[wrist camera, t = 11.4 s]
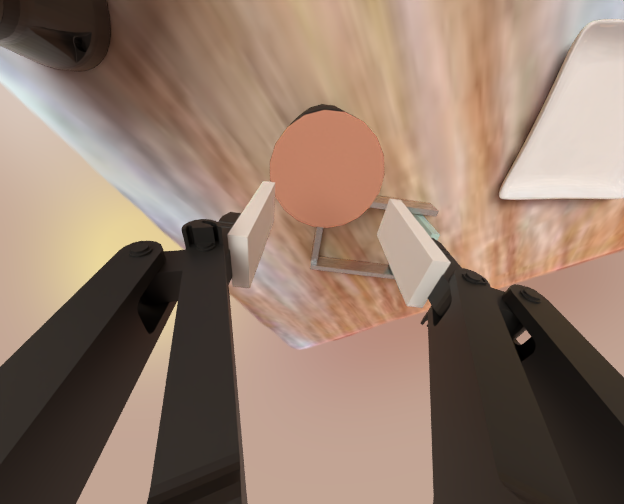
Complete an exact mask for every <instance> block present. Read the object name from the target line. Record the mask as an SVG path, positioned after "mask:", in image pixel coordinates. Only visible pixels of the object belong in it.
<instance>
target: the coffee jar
mask: <svg viewBox="0 0 624 504" xmlns="http://www.w3.org/2000/svg"><path fill="white" fill-rule="evenodd" d="M383 177H384V155H383V152H382V149H381V147H380V144H379V141H378V139H377V137H376V135H375V134H374V133H373V132H372V131H371V130H370V129H369V127H368V126H367V125H366V124H365V123H364V122H363V121H361V120H359V119H358V118H356V117H354V116H352V115H350V114H349V113H347V112H345V111H343V110H341V109H339V108H337V107H335V106H332V105H324V104H321V105H318V106H314V107H310V108H309V109H308V110H306V111H305V112H303V113H302V114H301V115H300V116H298V117H297V118H296V119H295V120H294V121H293V122H292V123H291V124H290V125H289V126H288V127H287V128H286V130H285V131H284V133H283V134H282V135H281V137H280V138H279V140H278V141H277V142H276V144H275V147H274V150H273V154H272V157H271V160H270V182H275V197H276V198H277V200H278V201H279V203H280V204H281V205H282V207H283V208H284V210H285V211H286V212H287V213H289V214H290V215H291V216H292V217H294V218H295V219H296V220H298V221H300V222H302V223H305V224H307V225H310V226H313V227H324V228H330V227H335V226H341V225H344V224H346V223H348V222H350V221H353V220H355V219H357V218H358V217H359V216H360V215H362V214H363V213H364V212H365V211H366V210H367V209H368V208H369V207H370V206H371V205H372V203H373V201H374V200H375V198H376V197H377V195H378V194H379V192H380V188H381V185H382V181H383Z"/></svg>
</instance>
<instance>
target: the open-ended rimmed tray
mask: <svg viewBox="0 0 624 504" xmlns="http://www.w3.org/2000/svg"><path fill="white" fill-rule="evenodd" d="M389 199H396V200H401V201H402V202H403V203H404V205H405V206H406V207H407V208H408V210H409V211H410V212H411V213H414V214H421V215H429V216H437V214H438V212H439V211H438V210H437V209H436V208H435V207H434V206H433V205H432V204H431V203H426V202H419V201H412V200H404V199H397V198H390V197H383V196H377V197H376V198H375V200H374V201H373V203H372V205H371V206H370V208H378V209H385V210H386V207H387V204H388V201H389ZM322 232H323V227H316V230H315V237H314V243H313V249H312V255H311V266H310V269H313V270H322V271H330V272H339V273H347V274H355V275H364V276H372V277H381V278H389V279H395V278H394V275H393V273H392V271H391V268H390V266H389V265H386V264H378V263H370V262H362V261H354V260H345V259H337V258H329V257H321V256H318V254H319V249H320V243H321V238H322Z"/></svg>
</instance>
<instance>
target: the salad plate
mask: <svg viewBox="0 0 624 504" xmlns="http://www.w3.org/2000/svg"><path fill="white" fill-rule="evenodd" d="M499 197H500V198H501V199H506V200H530V199H621V198H624V19H623V20H621V19H603V20H595V21H592V22H590V23H589V24H587V25H586V26H585V27H584V28H583V29H582V30H581V31H580V33H579V34H578V36H577V37H576V39H575V40H574V42H573V44H572V46H571V48H570V50H569V52H568V54H567V56H566V58H565V60H564V62H563V65H562V67H561V69H560V71H559V73H558V76H557V78H556V80H555V82H554V84H553V86H552V88H551V90H550V93H549V95H548V97H547V99H546V101H545V103H544V105H543V107H542V109H541V111H540V113H539V115H538V117H537V119H536V121H535V123H534V125H533V127H532V129H531V131H530V133H529V135H528V137H527V139H526V141H525V143H524V145H523V146H522V148H521V150H520V152H519V154H518V156H517V158H516V160H515V161H514V163H513V165H512V167H511V169H510V170H509V172H508V174H507V176H506V178H505V179H504V181H503V183H502V185H501V188H500V191H499Z"/></svg>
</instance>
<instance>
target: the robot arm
mask: <svg viewBox="0 0 624 504" xmlns="http://www.w3.org/2000/svg"><path fill="white" fill-rule="evenodd" d="M109 42H110V18H109V12H108V7H107V3H106V0H0V46H2V47H4V48H6V49H8V50H11V51H13V52H15V53H17V54H19V55H22V56H24V57H26V58H28V59H30V60H33V61H35V62H37V63H40V64H42V65H45V66H48V67H52V68H56V69H62V70H71V71H85V70H89V69H91V68H94V67H95V66H97V65H98V64H99V63H100V62H101V61H102V60H103V58H104V57H105V55H106V52H107V50H108V47H109ZM274 206H275V182H268V181H263V182H262V183H261V185H260V186H259V188H258V189H257V191H256V192H255V194H254V195H253V197H252V198H251V200H250V201H249V203H248V204H247V206H246V207H245V209H244V210H243V212H242V213H234V212H230V213H228V214H226V215H224V216H222V218H221V219H220V220H219V222H216V221H213V220H208V219H200V220H194V221H191V222H188V223H186V224H185V225H184V226H183V227H182V233H183V237H184V242H185V246H186V250H179V251H163V248H162V246H161V244H159V243H157V242H154V241H139V242H135V243H132V244H130V245H127V246H125V247H123V248H122V249H121V250H119V251H118V252H117V253H116V254H115V255H114V256H113V257H112V258H111V259H110V260H109V261H108V262H107V263H106V264H105V265H104V266H103V267H102V268H101V269H100V270H99V271H98V272H97V273H96V274H95V275H94V276H93V277H92V278H91V279H90V280H89V281H88V282H87V283H86V284H85V285H84V286H82V288H80V289H79V290H78V291H77V292H76V294H74V295H73V296H72V297H71V298H70V299H69V300H68V301H67V302H66V303H65V304H64V305H63V306H62V307H61V308H60V309H59V310H58V311H57V312H56V313H55V314H54V315H53V316H52V317H51V318H50V319H49V320H48V321H47V322H46V323H45V324H44V325H43V326H42V327H41V328H40V329H39V330H38V331H37V332H36V333H34V334H33V335H32V336H31V337H30V338H29V339H28V340H27V341H26V342H25V343H24V344H23V345H22V346H21V347H20V348H19V349H18V350H17V351H16V352H15V353H14V354H13V355H12V356H11V357H10V358H9V359H8V360H7V361H6V362H5V363H4V364H3V365H2V366H1V367H0V504H76V502H77V500H78V498H79V496H80V494H81V492H82V490H83V488H84V486H85V484H86V482H87V480H88V478H89V476H90V474H91V472H92V470H93V468H94V466H95V464H96V462H97V460H98V458H99V456H100V454H101V452H102V450H103V448H104V446H105V444H106V442H107V440H108V438H109V436H110V434H111V432H112V430H113V428H114V426H115V424H116V422H117V420H118V418H119V416H120V414H121V412H122V410H123V408H124V406H125V404H126V402H127V400H128V398H129V396H130V394H131V392H132V390H133V388H134V386H135V384H136V382H137V380H138V378H139V376H140V374H141V372H142V370H143V368H144V366H145V364H146V362H147V360H148V358H149V356H150V354H151V352H152V350H153V348H154V346H155V344H156V342H157V340H158V338H159V336H160V334H161V332H162V330H163V328H164V326H165V324H166V322H167V320H168V318H169V316H170V314H171V312H172V310H173V308H174V306H175V304H176V302H177V301H178V305H177V312H176V319H175V325H174V332H173V339H172V345H171V352H170V359H169V366H168V372H167V379H166V386H165V393H164V399H163V406H162V413H161V420H160V426H159V433H158V440H157V447H156V453H155V460H154V467H153V474H152V481H151V487H150V492H149V498H148V501H147V504H248V503H247V494H246V483H245V471H244V459H243V448H242V436H241V425H240V413H239V401H238V390H237V378H236V366H235V355H234V344H233V332H232V320H231V308H230V296H229V287H228V285H229V283H230V280H231V278H232V284H233V287H242V288H250V286H251V283H252V281H253V278H254V275H255V272H256V269H257V267H258V264H259V261H260V258H261V256H262V253H263V250H264V247H265V245H266V242H267V239H268V236H269V234H270V231H271V228H272V225H273V222H274ZM377 237H378V239H379V241H380V244H381V246H382V248H383V251H384V253H385V256H386V258H387V260H388V263H389V265H390V267H391V270H392V272H393V274H394V277H395V279H396V282H397V284H398V286H399V289H400V291H401V293H402V296H403V298H404V301H405V303H406V305H407V306H411V307H420V308H423V306H424V304H425V303H426V301H427V300H428V299H429V301H430V303H431V305H432V306H431V307H430V309H429V310H428V312H427V313H426V315H425V316H424V318H423V320H422V321H421V324H422V325H423V324H424V323H425V321H427V320H428V325H427V327H428V336H429V337H428V338H429V364H430V365H429V366H430V367H429V368H430V396H431V397H430V399H431V426H432V427H431V429H432V459H433V489H434V500H433V501H434V502H433V504H624V377H623V376H622V375H621V374H620V373H619V372H618V371H617V370H616V369H615V368H614V367H613V366H612V365H611V364H610V363H609V362H608V361H607V360H606V359H605V358H604V357H603V356H602V355H601V354H600V353H599V352H598V351H597V350H596V349H595V348H594V347H593V346H592V345H591V344H590V343H589V342H588V341H587V340H586V339H585V338H584V337H583V336H582V335H581V334H580V333H579V332H578V331H577V329H576V328H574V326H573V325H572V324H571V323H570V322H569V321H568V320H567V319H566V318H565V317H564V316H563V315H562V314H561V313H560V312H559V311H558V310H557V309H556V308H555V307H554V306H553V305H552V304H551V303H550V302H549V301H548V300H547V299H546V298H545V297H543V296H542V295H541V294H539V293H538V292H537V291H535V290H534V289H531V288H529V287H525V286H522V285H512V286H510V287H509V288H508V290H507V291H506V292H503V291H500V290H497V289H494V288H491V287H490V284H489V283H488V281H487V280H486V279H485V278H484V277H482V276H481V275H479V274H478V273H476V272H474V271H471V270H468V269H464V268H461V267H460V265H459V264H458V263H457V262H456V261H455V259H454V258H453V257H452V256H451V255H450V253H449V252H448V251H446V249H445V248H444V246H443V245H442V244H441V243H440V242H438V241H437V240H435V239H434V238H431V237H430V236H429V235H428V233H427V232H426V231H425V230H424V228H423V227H422V226H421V225H420V223H419V222H418V221H417V220H416V218H415V217H414V216H413V215H412V213H411V212H410V211H409V210H408V208H407V207H406V206H405V205H404V203H403V202H402V201H401V200H396V199H389V201H388V204H387V207H386V210H385V213H384V216H383V218H382V221H381V224H380V227H379V230H378V233H377ZM525 330H527V331H528V333H529V334H530V335H531V338H530V339H528V340H527V341H526V342H525V343H524V344H522V345H521V344H520V343H519V342H518V341H517V340H516V338H517V337H518V336H520V335H521V334H522V333H523V332H524V331H525Z"/></svg>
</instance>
